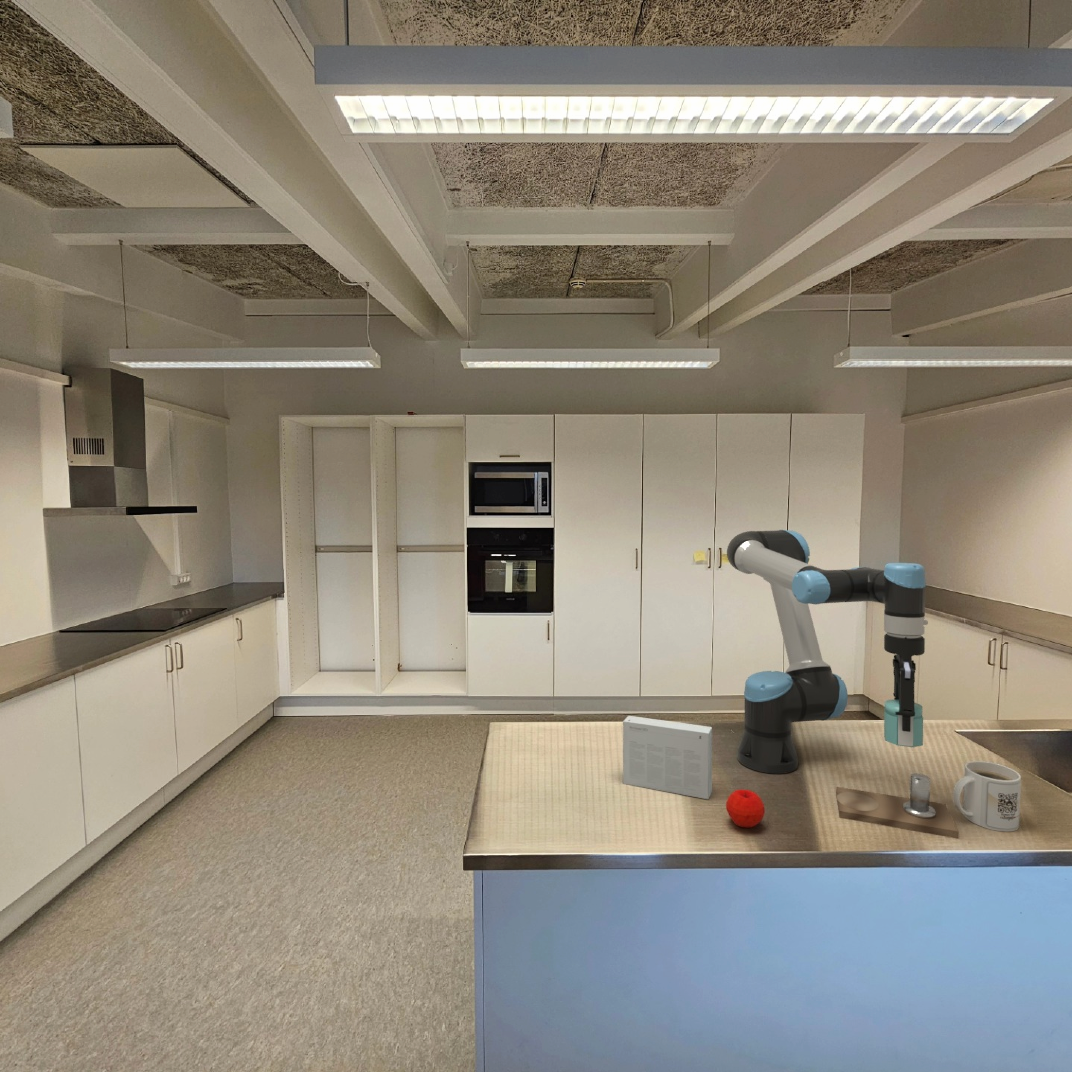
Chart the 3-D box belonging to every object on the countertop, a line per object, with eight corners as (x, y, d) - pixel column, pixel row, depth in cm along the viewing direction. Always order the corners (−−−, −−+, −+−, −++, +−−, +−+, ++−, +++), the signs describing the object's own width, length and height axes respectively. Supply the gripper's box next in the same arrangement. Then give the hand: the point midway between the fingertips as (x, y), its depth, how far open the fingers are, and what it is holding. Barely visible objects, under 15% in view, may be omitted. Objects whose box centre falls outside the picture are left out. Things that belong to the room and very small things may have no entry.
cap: (886, 743, 131) (886, 707, 131) (883, 733, 137) (883, 698, 137) (924, 748, 128) (924, 711, 128) (919, 737, 134) (920, 701, 134)
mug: (1022, 838, 125) (1024, 786, 124) (952, 822, 131) (953, 773, 131) (1015, 815, 134) (1017, 766, 133) (949, 801, 140) (951, 755, 139)
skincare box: (712, 790, 147) (713, 726, 146) (709, 800, 142) (709, 734, 141) (628, 774, 156) (628, 714, 155) (622, 783, 151) (621, 721, 150)
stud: (905, 815, 131) (906, 780, 131) (901, 802, 137) (902, 769, 136) (938, 821, 129) (939, 785, 129) (932, 807, 135) (933, 773, 134)
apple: (743, 838, 126) (743, 804, 126) (717, 820, 133) (717, 787, 133) (772, 829, 129) (773, 796, 129) (745, 812, 137) (746, 780, 136)
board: (838, 817, 134) (838, 810, 134) (835, 792, 145) (835, 786, 145) (958, 838, 125) (958, 831, 125) (945, 810, 136) (945, 803, 136)
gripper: (931, 645, 121) (930, 758, 122) (918, 627, 139) (917, 726, 140) (888, 642, 124) (887, 752, 125) (880, 625, 142) (880, 721, 143)
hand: (903, 738), depth 133 cm, fingers closed on cap, 7 cm apart
